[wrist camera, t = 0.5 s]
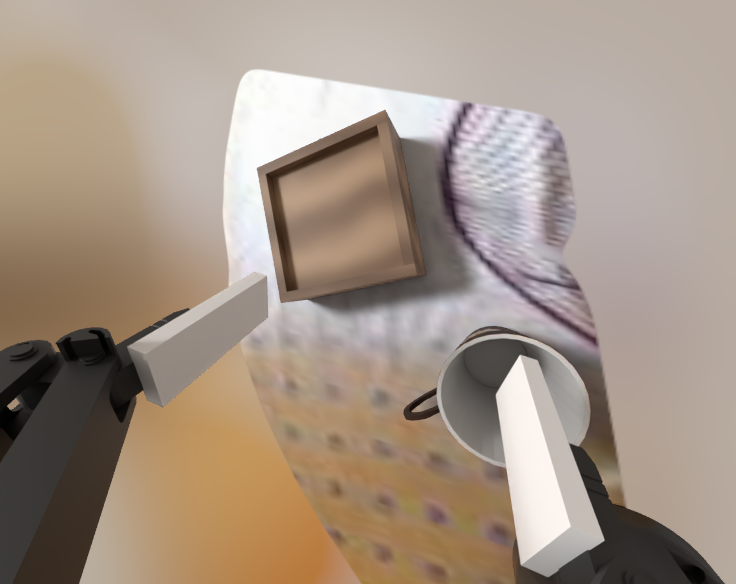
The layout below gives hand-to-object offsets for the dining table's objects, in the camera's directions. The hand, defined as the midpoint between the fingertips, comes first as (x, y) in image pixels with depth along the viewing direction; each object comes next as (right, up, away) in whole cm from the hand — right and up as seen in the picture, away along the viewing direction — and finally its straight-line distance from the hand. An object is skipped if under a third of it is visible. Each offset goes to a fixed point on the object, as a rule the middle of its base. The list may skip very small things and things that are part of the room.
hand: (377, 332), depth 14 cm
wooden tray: (-3, +10, +17) cm, 20 cm away
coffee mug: (+11, -4, +13) cm, 17 cm away
